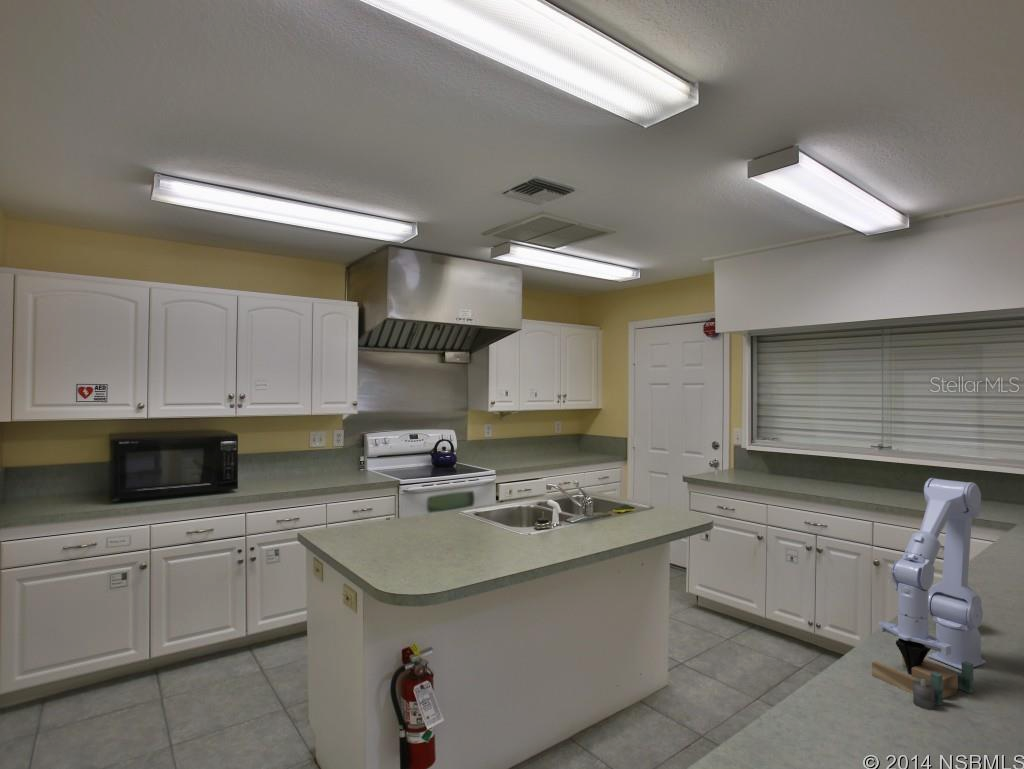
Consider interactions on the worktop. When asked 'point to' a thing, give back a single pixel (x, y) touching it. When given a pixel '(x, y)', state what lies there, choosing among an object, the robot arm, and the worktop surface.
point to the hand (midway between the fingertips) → (913, 673)
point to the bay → (924, 682)
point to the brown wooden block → (948, 677)
